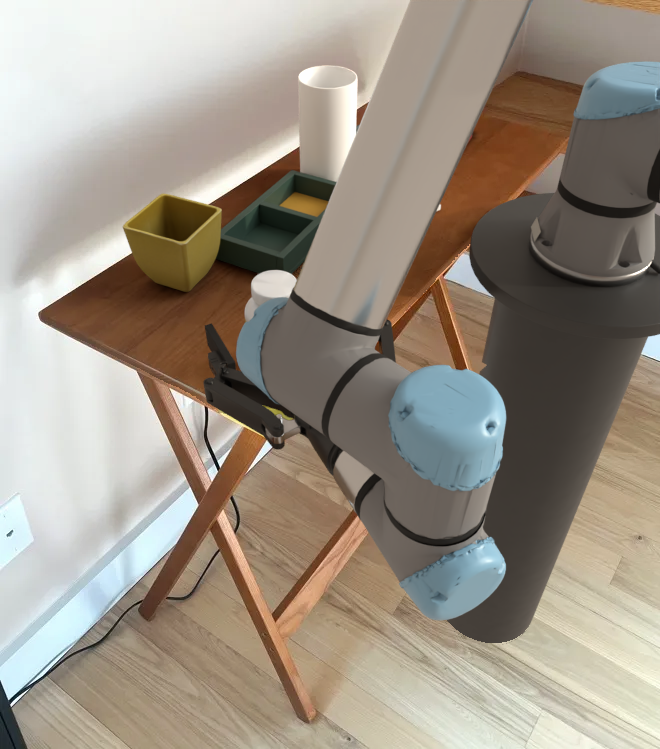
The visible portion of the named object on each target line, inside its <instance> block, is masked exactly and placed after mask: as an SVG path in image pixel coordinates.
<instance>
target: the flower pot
mask: <svg viewBox="0 0 660 749" xmlns="http://www.w3.org/2000/svg"><path fill="white" fill-rule="evenodd" d="M222 212H223V210H222V208H220V207H218V206H214V205H212V204H209V203H204V202H201V201H196V200H194V199H193V200H192V199H188V198H184V197H181V196H177V195H175V194H174V195H173V194H170V193H163V192H162V193H160V194H158V196H156V197H155V198H154V199H153V200H152V201H150V202H149V203H148V204H146V205H145V206H144V207H143V208H142V209H140V211H138V212H137V213H136V214H134V215H133V216H132V217H131V218H129V219H127V221H125V223H124V224H123V225H122V229H123V232H124V235H125V238H126V240H127V241H126V242H127V243H128V246H129V249H130V251H131V254H132V256H133V258H134V261H135V263H136V265H137V266H138V267H139V269H140V270H141V271H142V272H143V273H144V274H145V276H147V277H148V279H150V280H152V281H153V282H154V283H156V284H158V285H161V286H165V287H168V288H172V289H174V290H178V291H181V292H184V293H188V292H191V291H192V290H193V288H195V286H197V285H198V283H199V282H200V281H201V280H202V279H203V278H205V277H206V276H207V274H208V273H209V272H210V270H211V268H212V266H213V265H214V263H215V261H216V260H217V259H216V256H217V253H218V250H219V246H220V236H221V229H222Z"/></svg>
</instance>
